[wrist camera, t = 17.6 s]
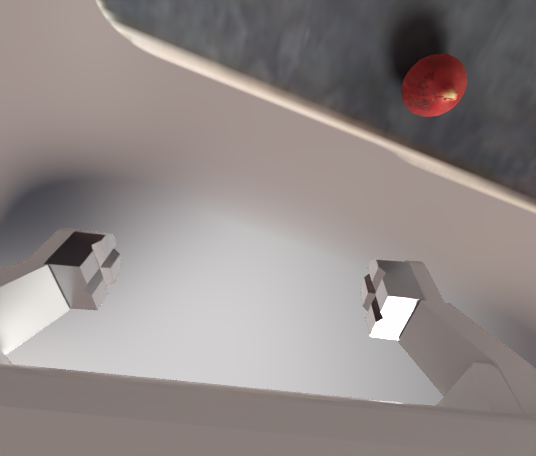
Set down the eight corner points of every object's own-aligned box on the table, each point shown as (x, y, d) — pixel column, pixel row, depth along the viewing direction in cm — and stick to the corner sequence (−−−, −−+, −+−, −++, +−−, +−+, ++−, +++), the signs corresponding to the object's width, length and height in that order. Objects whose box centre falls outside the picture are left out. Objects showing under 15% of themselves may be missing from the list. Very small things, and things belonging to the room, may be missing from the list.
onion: (399, 114, 36) (422, 138, 30) (387, 66, 33) (410, 80, 27) (451, 92, 35) (488, 112, 28) (444, 38, 32) (483, 47, 25)
